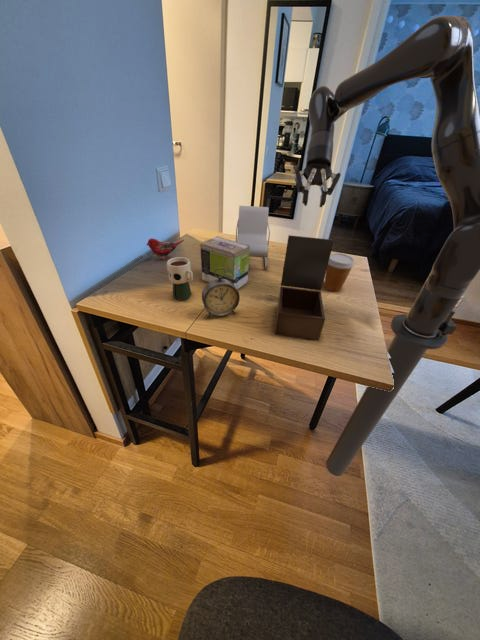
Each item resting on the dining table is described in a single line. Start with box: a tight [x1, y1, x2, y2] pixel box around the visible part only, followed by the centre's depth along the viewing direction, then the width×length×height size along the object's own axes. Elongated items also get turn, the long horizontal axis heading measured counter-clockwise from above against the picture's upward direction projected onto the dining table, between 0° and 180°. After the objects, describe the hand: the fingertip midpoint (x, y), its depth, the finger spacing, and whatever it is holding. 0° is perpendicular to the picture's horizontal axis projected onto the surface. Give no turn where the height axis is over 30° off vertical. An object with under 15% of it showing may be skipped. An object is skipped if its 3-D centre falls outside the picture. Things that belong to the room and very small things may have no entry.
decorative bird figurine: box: [146, 237, 185, 261], centre depth 110 cm, size 3×18×10 cm, turn 132°
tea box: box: [199, 235, 250, 290], centre depth 95 cm, size 15×10×15 cm
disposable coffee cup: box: [323, 252, 355, 293], centre depth 95 cm, size 10×10×12 cm
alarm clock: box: [201, 267, 241, 319], centre depth 77 cm, size 11×5×16 cm, turn 106°
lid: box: [280, 234, 335, 291], centre depth 77 cm, size 16×13×1 cm
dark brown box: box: [274, 286, 326, 341], centre depth 78 cm, size 15×13×8 cm
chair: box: [235, 205, 271, 270], centre depth 110 cm, size 13×25×20 cm, turn 178°
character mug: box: [166, 256, 194, 301], centre depth 85 cm, size 11×7×13 cm, turn 57°
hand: (313, 204), depth 77 cm, fingers open, 4 cm apart
